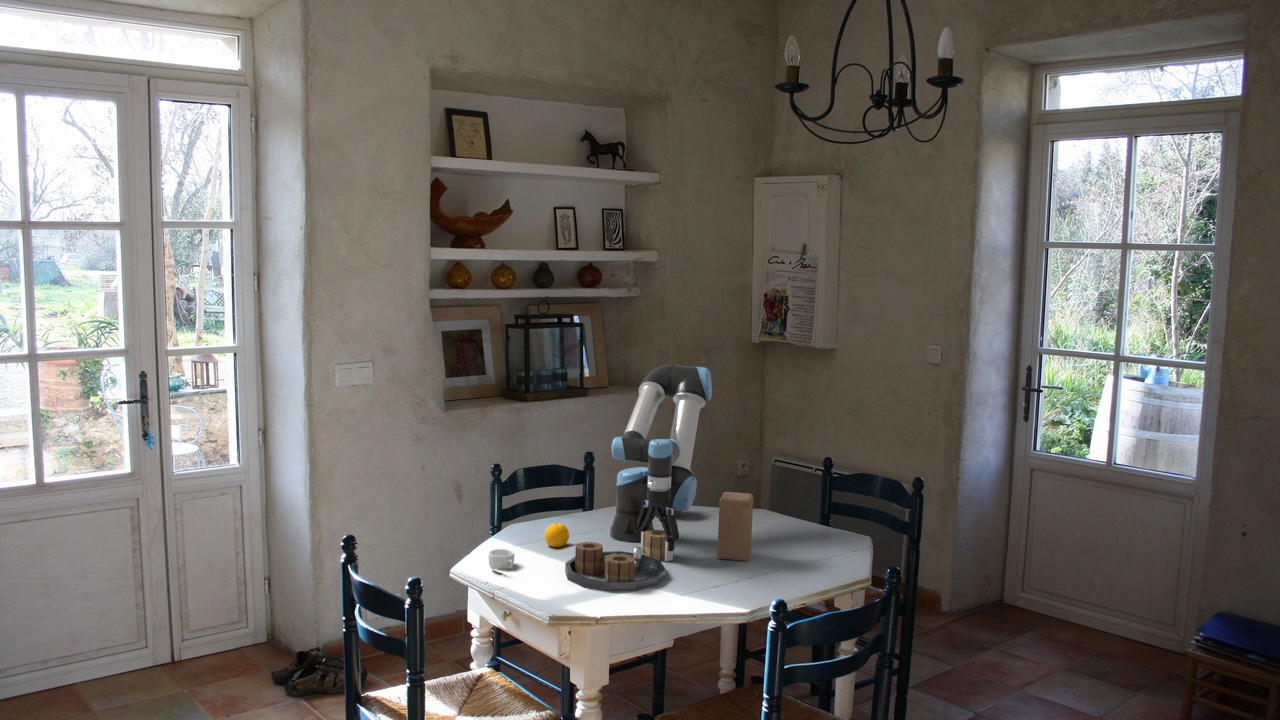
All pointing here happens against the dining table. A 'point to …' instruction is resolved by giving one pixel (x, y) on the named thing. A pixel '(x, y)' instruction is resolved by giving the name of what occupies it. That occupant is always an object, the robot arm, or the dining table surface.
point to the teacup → (501, 559)
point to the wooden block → (735, 526)
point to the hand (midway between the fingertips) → (656, 555)
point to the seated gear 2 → (619, 568)
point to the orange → (556, 535)
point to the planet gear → (655, 544)
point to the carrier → (644, 577)
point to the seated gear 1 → (588, 558)
